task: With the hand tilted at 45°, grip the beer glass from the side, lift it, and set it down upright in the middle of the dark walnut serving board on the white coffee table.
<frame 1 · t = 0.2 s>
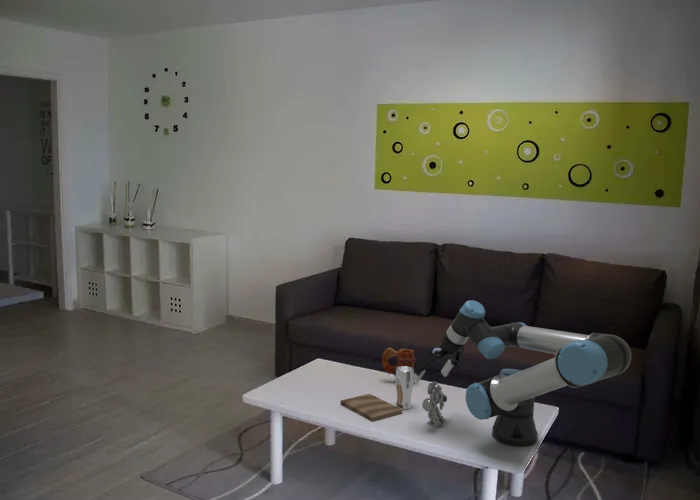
hand: (429, 376, 233), 15 cm above the table, tool tilted 35°, fingers open, 13 cm apart
mug: (398, 383, 272), on the table
serving board: (370, 408, 242), on the table
beer glass: (403, 407, 245), on the table
robot toy: (433, 425, 229), on the table
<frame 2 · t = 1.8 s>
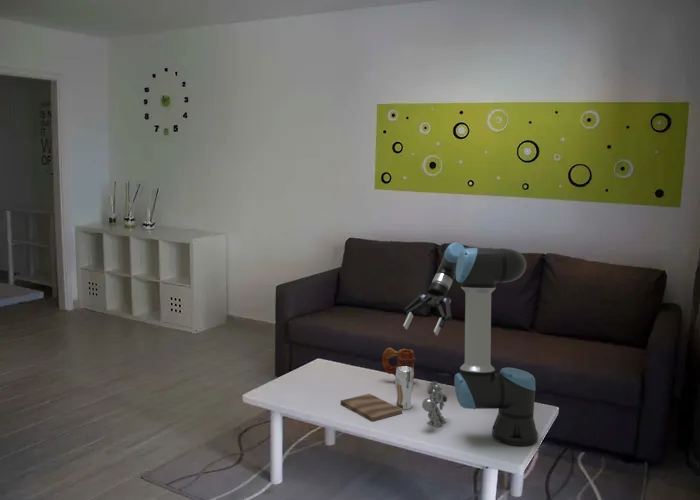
hand: (420, 330, 250), 28 cm above the table, tool tilted 45°, fingers open, 13 cm apart
nothing on the table moved.
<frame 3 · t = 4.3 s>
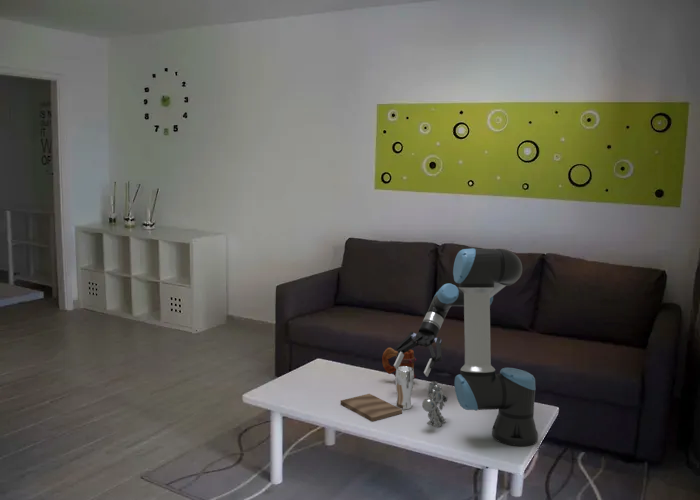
hand: (410, 371, 248), 12 cm above the table, tool tilted 45°, fingers open, 13 cm apart
nothing on the table moved.
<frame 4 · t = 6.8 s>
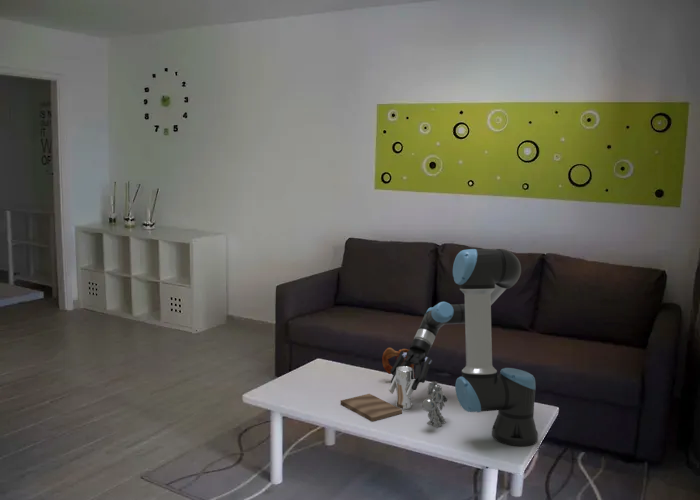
hand: (399, 394, 241), 6 cm above the table, tool tilted 45°, fingers closed on beer glass, 7 cm apart
beer glass: (403, 407, 245), on the table, touching gripper
everything else where it was.
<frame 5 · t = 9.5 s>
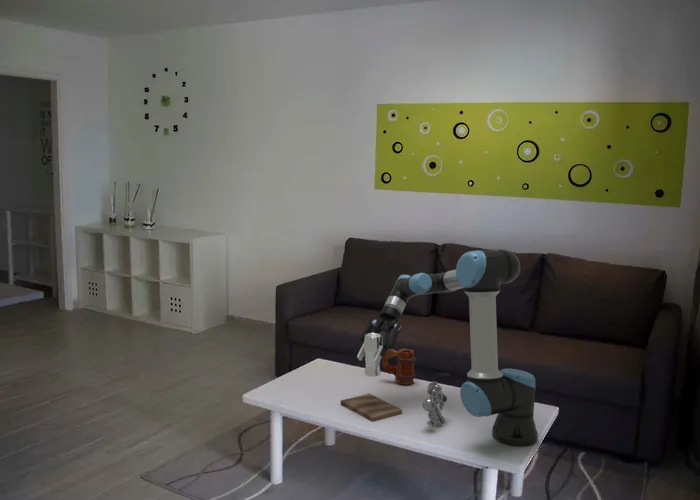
hand: (367, 360, 237), 20 cm above the table, tool tilted 45°, fingers closed on beer glass, 7 cm apart
beer glass: (372, 374, 241), point 13 cm above the table, touching gripper
everything else where it was.
when the fingers open (9 cm above the table, at t = 12.4 s): beer glass drops 1 cm, resting on serving board.
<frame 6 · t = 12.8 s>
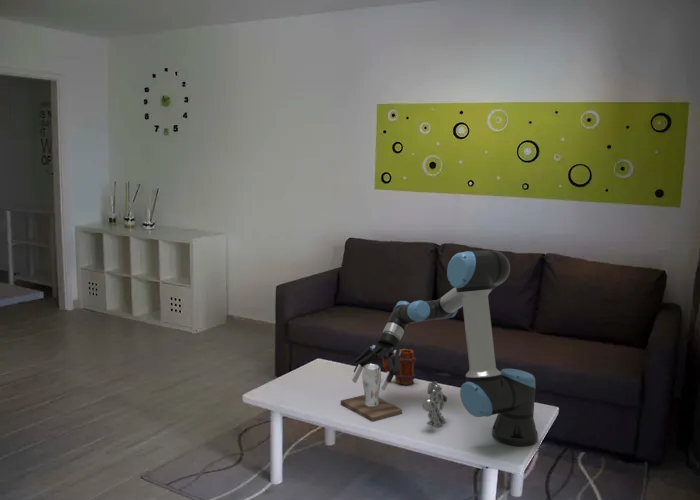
hand: (367, 384, 239), 10 cm above the table, tool tilted 45°, fingers open, 12 cm apart
beer glass: (371, 405, 242), point 1 cm above the table, touching serving board
everything else where it was.
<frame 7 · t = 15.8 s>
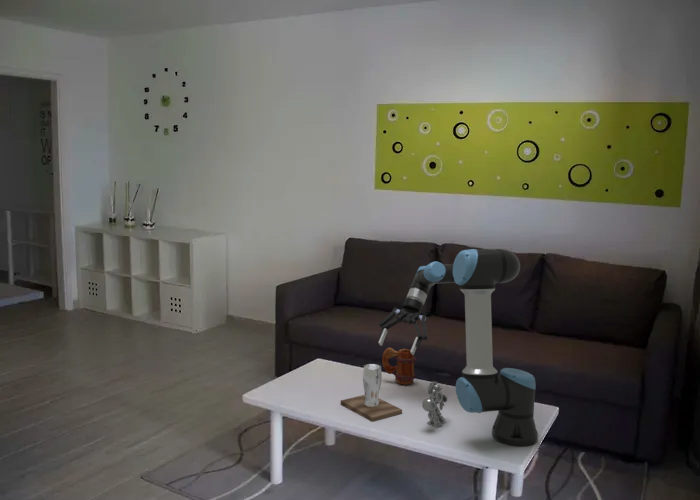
hand: (395, 348, 248), 21 cm above the table, tool tilted 40°, fingers open, 13 cm apart
nothing on the table moved.
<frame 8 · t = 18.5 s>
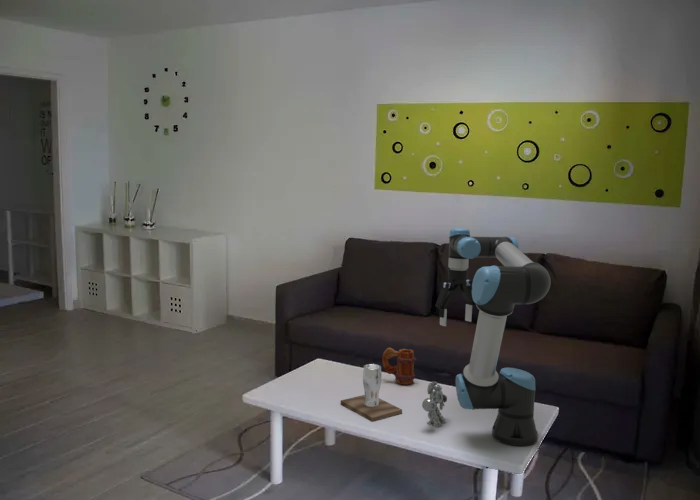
hand: (455, 323, 246), 32 cm above the table, tool pointing down, fingers open, 13 cm apart
nothing on the table moved.
at the end: beer glass inside the target area on the serving board (0.1 cm from its centre), point 1.3 cm above the serving board's base; beer glass tilted 0°; the gripper is holding nothing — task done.
